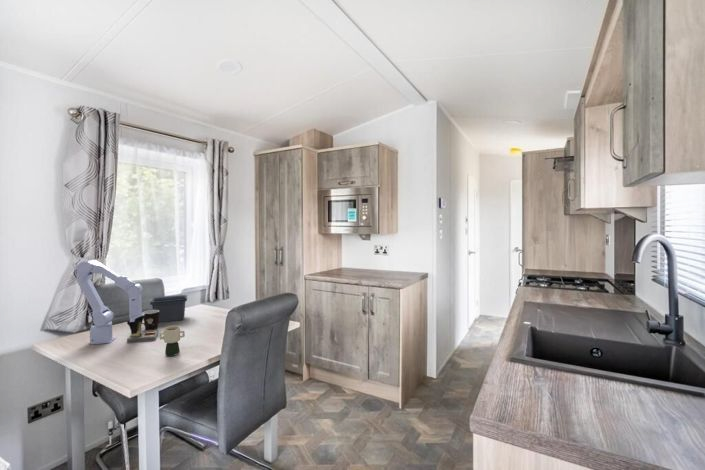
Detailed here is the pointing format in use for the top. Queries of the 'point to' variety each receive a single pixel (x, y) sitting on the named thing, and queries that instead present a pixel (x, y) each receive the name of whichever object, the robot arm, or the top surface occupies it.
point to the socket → (143, 337)
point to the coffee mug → (151, 319)
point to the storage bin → (169, 307)
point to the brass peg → (137, 331)
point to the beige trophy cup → (171, 339)
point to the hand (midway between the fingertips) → (136, 331)
